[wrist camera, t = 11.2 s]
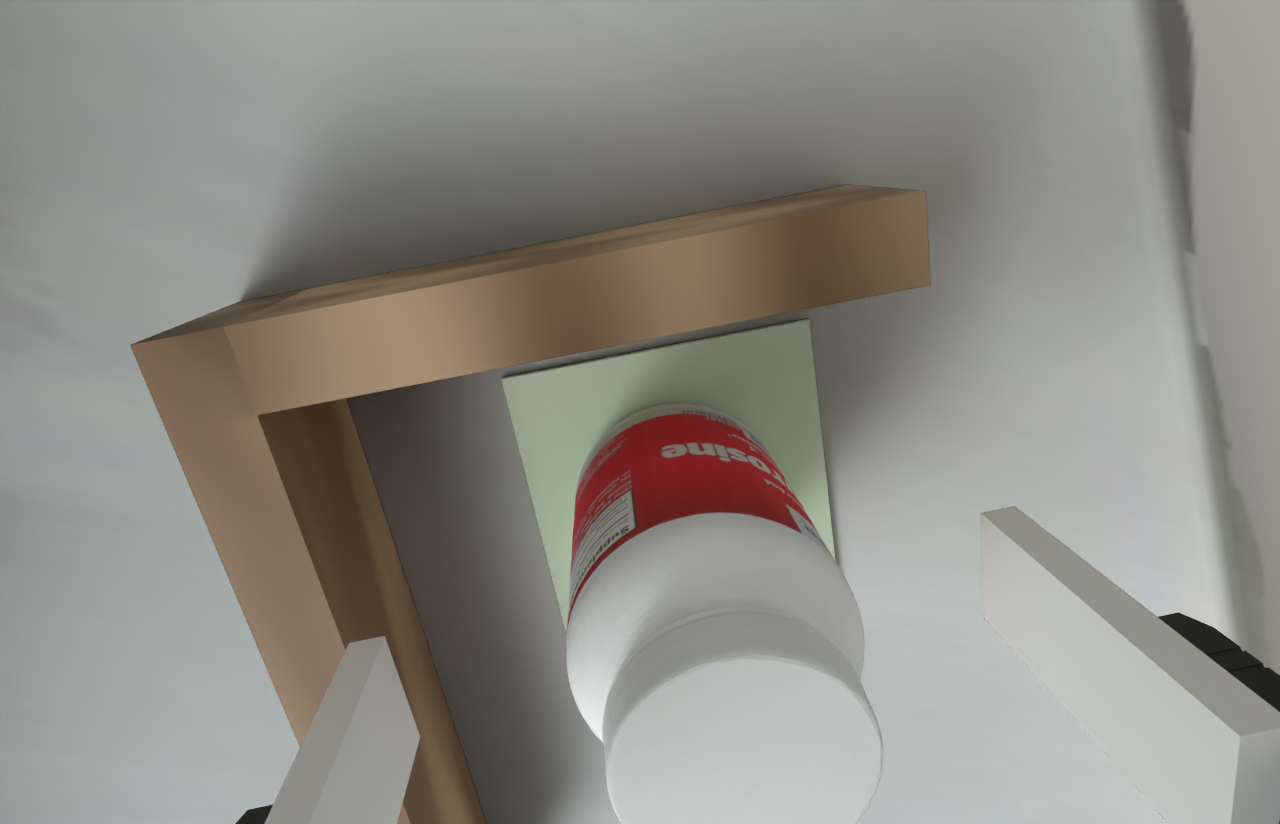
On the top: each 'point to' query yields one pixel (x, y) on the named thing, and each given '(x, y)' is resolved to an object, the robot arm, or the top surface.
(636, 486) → the pill bottle
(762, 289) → the corner barrier
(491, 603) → the top surface
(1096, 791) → the top surface
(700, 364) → the pad
